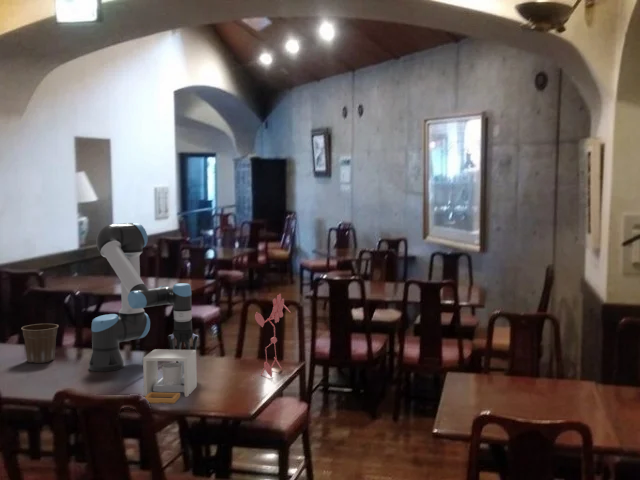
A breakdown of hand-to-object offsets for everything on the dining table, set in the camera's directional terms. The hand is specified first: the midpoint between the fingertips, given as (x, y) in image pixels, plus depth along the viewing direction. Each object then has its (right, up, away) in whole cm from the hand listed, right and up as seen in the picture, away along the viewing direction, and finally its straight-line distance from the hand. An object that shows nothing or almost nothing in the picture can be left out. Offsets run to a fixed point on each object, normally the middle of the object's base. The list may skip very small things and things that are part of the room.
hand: (184, 374), depth 303 cm
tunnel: (-2, -3, -19) cm, 19 cm away
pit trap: (-3, -4, -31) cm, 31 cm away
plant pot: (-74, 0, +32) cm, 80 cm away
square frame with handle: (-1, -2, -10) cm, 10 cm away
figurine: (+40, -1, +5) cm, 41 cm away
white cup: (-1, -3, -17) cm, 17 cm away
